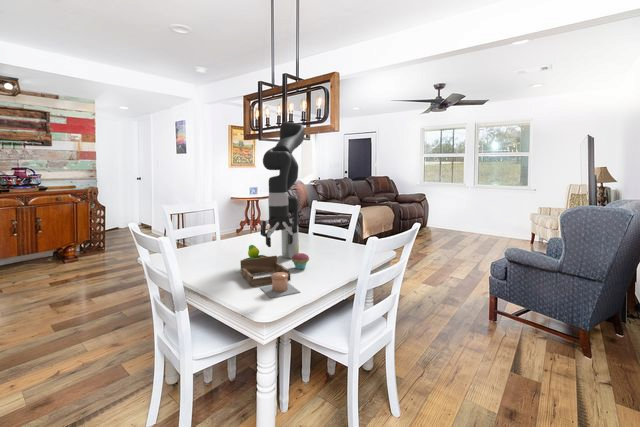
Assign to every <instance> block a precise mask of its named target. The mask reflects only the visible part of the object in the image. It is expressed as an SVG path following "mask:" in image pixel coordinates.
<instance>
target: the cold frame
mask: <svg viewBox="0 0 640 427" xmlns="http://www.w3.org/2000/svg"><path fill="white" fill-rule="evenodd" d="M263 272H264V273H269V272H275V273H277V272H285V273H287V274H288V278H287V282H288V281H291V273H290V269H288V268H287V267H285V266H284V265H282V264H280V263H279V262H278V256H277V255H270V256H268V257H261V258H254V259H247V260H243V259H240V276H241V275H242V276H241V277H242V278H243V279H244V280H245V281H246V282H247V283H248V285H249V286H251V287H252V288H253V287H258V286H264V285H270V284H271V285H272V278H271V275H267V276H260V277H255V278H254V276H253V275H255V274H256V275H257V274H262V273H263ZM264 273H263V274H264Z"/></svg>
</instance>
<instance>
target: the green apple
mask: <svg viewBox="0 0 640 427" xmlns="http://www.w3.org/2000/svg"><path fill="white" fill-rule="evenodd" d="M259 253H260V250H259V248H258V247H257V246H256V245H254V244H250V245H248V251H247V255H248V257H246V258H244V259H242V260H247V259H254V258H261V257H269V256H268V255H264V254H259Z"/></svg>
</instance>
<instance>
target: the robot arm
mask: <svg viewBox="0 0 640 427" xmlns="http://www.w3.org/2000/svg"><path fill="white" fill-rule="evenodd" d="M305 129H306V128H305V126H304V125H303V124H301V123H296V122H291V121H290V122H289V121H283V122H282V123H281V124H280V127H279V141H278V142H277V143H276V145H275V146H274V147H272V148H270V149H268V150H267V151H265V153H264V155H263V157H262V164H263V166H264V168H265V169H266V170H268V171H279V174H278V175H275V176H271V177H269V178H268V219H267V220H264V219H261V220H260V235H261V236H263V237H265V245H266V246H267V247H268V248H271V246H272V239H271V235H272V234H274V232H275V231H276V232H279V231H280V232H281V257H282V258H285V259H291V257H292V256H293V255H295V254H298V253H297V247H296V243H297V245H298V251H299V252H300V250H299V249H300V247H299V246H300V245H299V244H300V243H299V242H300V240H299V235H300V234H299V197H298V196H297V195H288V192H289V190H290V189H291V188H292V187H293V186H294V185H295V183H296V182H297V180H298V177H299V164H298V162H297V160H296V158H295V157H294V155H293V152H294V151H295V150H296V149H297V148H298V147H299V146H300V145H302V144H303V142H304V140H305V134H306V130H305ZM289 214H290V215H289ZM268 225H269V227H268V228H266V227H267V226H268Z"/></svg>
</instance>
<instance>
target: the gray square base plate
mask: <svg viewBox="0 0 640 427" xmlns="http://www.w3.org/2000/svg"><path fill="white" fill-rule="evenodd" d="M287 283H288V290H287V291H285V292H274V291H272V285H269V286H267V285H266V286H262V287H260V289H261V291H262V292H264V293H265V295H267V296H268V297H269V298H270V299H274V298H279V297H284V296H290V295H296V294H300V293H301V291H300V290H298V289H297V288H296V287H294V285H292V284H291V283H290V282H287Z"/></svg>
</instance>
